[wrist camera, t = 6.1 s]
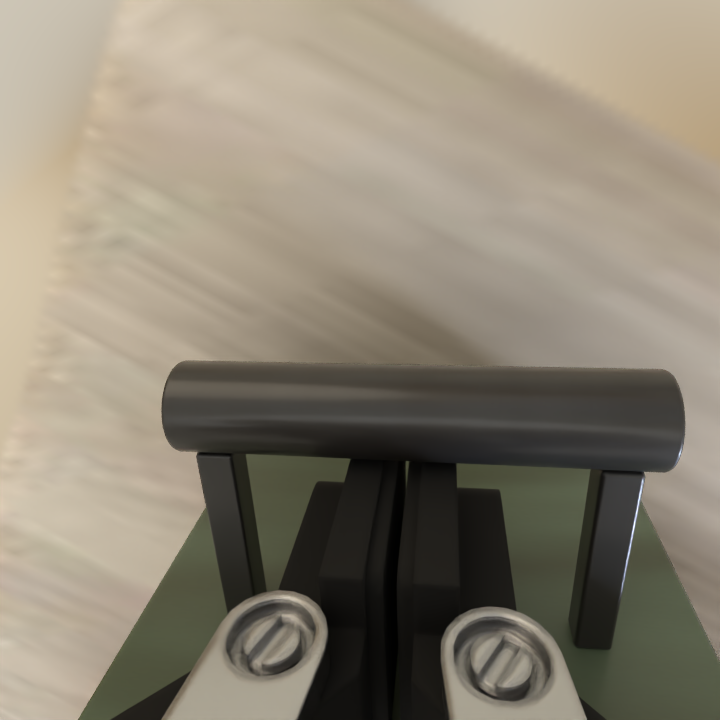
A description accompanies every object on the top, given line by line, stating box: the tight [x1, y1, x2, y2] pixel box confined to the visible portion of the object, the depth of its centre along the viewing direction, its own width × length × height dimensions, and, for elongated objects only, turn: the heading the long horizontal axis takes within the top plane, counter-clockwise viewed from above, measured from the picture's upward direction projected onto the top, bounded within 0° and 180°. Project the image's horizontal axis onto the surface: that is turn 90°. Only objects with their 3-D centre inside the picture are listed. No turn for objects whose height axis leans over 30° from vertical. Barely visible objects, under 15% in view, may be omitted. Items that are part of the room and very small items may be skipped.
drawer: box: [78, 361, 720, 720], centre depth 12 cm, size 17×10×8 cm, turn 3°
